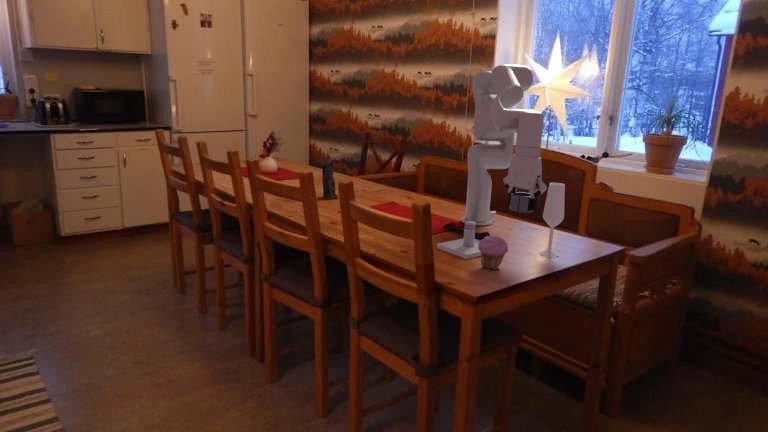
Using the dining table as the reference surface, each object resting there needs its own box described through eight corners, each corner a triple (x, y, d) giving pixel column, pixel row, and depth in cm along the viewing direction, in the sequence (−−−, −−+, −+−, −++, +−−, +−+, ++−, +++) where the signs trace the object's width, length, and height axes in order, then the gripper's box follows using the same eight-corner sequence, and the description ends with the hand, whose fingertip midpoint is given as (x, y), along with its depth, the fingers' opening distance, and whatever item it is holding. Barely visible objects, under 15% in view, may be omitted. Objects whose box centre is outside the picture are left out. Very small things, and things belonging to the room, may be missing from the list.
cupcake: (472, 268, 163) (474, 236, 161) (483, 261, 170) (486, 230, 168) (499, 274, 158) (502, 242, 156) (510, 266, 165) (513, 235, 163)
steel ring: (519, 206, 175) (521, 191, 174) (537, 210, 170) (539, 195, 168) (505, 208, 171) (506, 193, 170) (523, 213, 165) (525, 197, 164)
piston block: (469, 241, 191) (471, 215, 189) (499, 251, 181) (502, 224, 178) (436, 247, 182) (438, 220, 180) (466, 259, 171) (468, 230, 169)
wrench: (453, 231, 212) (502, 246, 185) (442, 232, 209) (490, 249, 183) (453, 218, 211) (502, 232, 184) (442, 219, 208) (490, 234, 182)
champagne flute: (534, 253, 180) (542, 183, 174) (546, 250, 184) (554, 181, 178) (551, 258, 175) (559, 186, 169) (563, 255, 179) (572, 184, 173)
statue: (339, 198, 253) (340, 156, 248) (328, 200, 248) (328, 157, 243) (330, 196, 258) (330, 154, 253) (318, 198, 253) (318, 155, 248)
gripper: (497, 148, 170) (492, 203, 175) (543, 156, 157) (537, 215, 161) (513, 147, 175) (507, 200, 179) (558, 155, 161) (552, 212, 166)
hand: (521, 207), depth 170 cm, fingers closed on steel ring, 7 cm apart
